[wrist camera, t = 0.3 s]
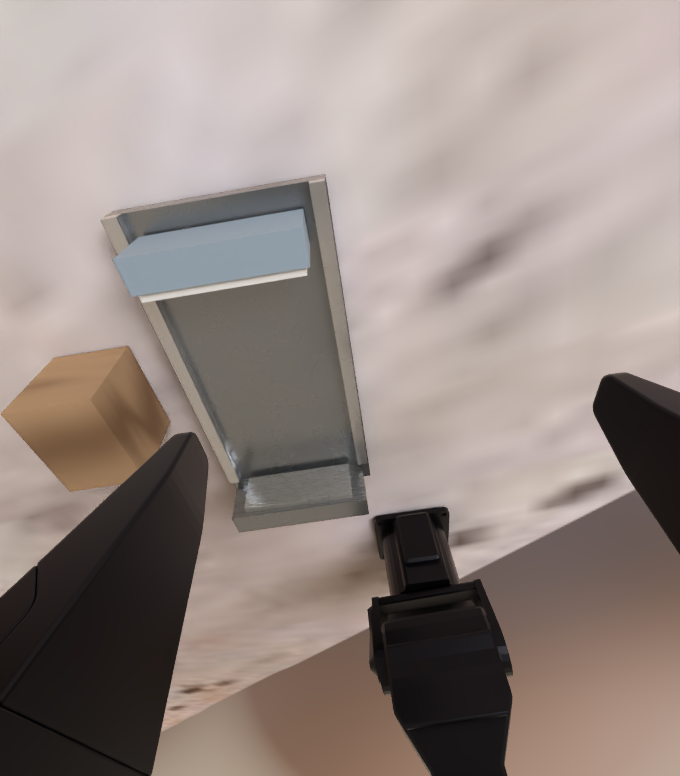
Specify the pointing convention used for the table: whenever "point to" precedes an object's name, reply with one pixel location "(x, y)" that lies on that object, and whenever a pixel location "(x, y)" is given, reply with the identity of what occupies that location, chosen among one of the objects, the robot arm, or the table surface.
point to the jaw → (216, 256)
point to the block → (90, 418)
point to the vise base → (267, 362)
